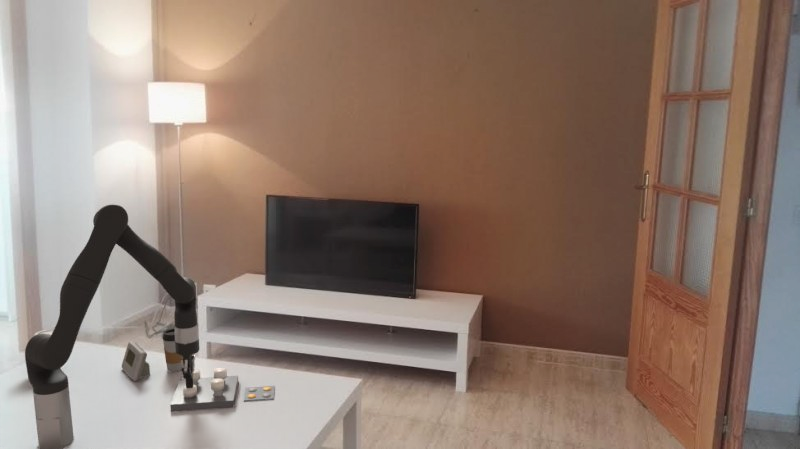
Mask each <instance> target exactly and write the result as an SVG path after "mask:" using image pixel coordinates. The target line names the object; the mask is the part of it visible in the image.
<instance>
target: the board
mask: <svg viewBox="0 0 800 449" xmlns="http://www.w3.org/2000/svg"><path fill="white" fill-rule="evenodd" d="M213 379H214V376H211V377H210V376H207V377H200V379H199V380H198V386H197V394H196V395H195V397H194V398H186V397H185V396H183V387H184V386H186V378H185V379H184V378H180V379H179V382H178V384H177V387H176V390H175V391H174V394H173V397H172V399H171V402H170V404H169V405H170V406H169V407H170V412H188V411H201V410H202V411H203V410H204V411H205V410H216V409H229V408H231V409H232V408H235V403H236V397H237V392H238V391H237V390H238V386H239V375H227V377H226V378H224V379H225V384H224V389H222V396H214V391H213V390H211V381H212V380H213Z"/></svg>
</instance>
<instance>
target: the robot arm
mask: <svg viewBox="0 0 800 449" xmlns="http://www.w3.org/2000/svg"><path fill="white" fill-rule="evenodd" d="M92 220H93V221H92V222H93V227H92V228H93V229H92V231H91V234H90V236H89V238H88V241H87V242H86V244H85V245H84V247H83V249H82V251H80V253H79V255H78V256H77V257H76V259H75V261H74V262H73V264H72V265H71V267H70V269H69V271H68V272H67V274H66V277H65V279H64V281H63V284H62V286H61V289H60V293H59V313H58V314H59V316H58V319H57V322H56V324H55V326H54V331H53V333H52V335H49V334H38V335H35V334H34V335H35V336H34V335H33V336H34V337H33V336H32V337H31V338H30V339H29V341H28V342H27V344H26V347H25V348H24V349H25V350H24V358H25V359H24V361H25V366H26V372H27V373H26V374H27V377H28V382H29V383H30V385H31V388H32V394H33V403H34V404H33V405H34V414H35V424H36V432H37V440H38V441H37V443H38V447H39V449H64V448H65V447H66V446H68V445H70V444H71V443H72V442H73V441H74V438H75V437H74V436H75V435H74V428H73V419H72V418H73V416H72V408H71V398H70V387H69V384H70V383H69V377H68V375H67V374H66V373H65V372H64V371H63V370H62V369H61V368H62V367H63V366H64V365H65V364H66V363H67V362H68V361H69V359H70V357H71V355H72V353H73V349H74V346H75V344H76V340H77V337H78V335H79V333H80V329H81V327H82V324H83V322H84V319H85V317H86V314H87V312H88V310H89V308H90V305H91V304H92V301H93V299H94V297H95V295H96V294H97V291H98V288H99V286H100V284H101V281H102V279H103V276H104V275H105V271H106V269H107V266H108V263H109V260H110V258H111V255H112V252H113V250H114V248H115V246H116V245H117V246H118V247H119V248H121V249H122V250H124V251H125V252H126V253H127V254H128V255H129V256H130V257H131V258H133V259H134V260H135V261H136V262H137V263H138V264H139V265H140V266H141V267H142V268H143V269H144V270H145V271H146V272H147V273H149V275H150V276H151V277H152V278H154V279H155V280H156V281H158V283H160V285H161V286H162V287H163V289H164V290H165V292H166V294H168V295H169V296H170V297H171V298H172V299H173V300H174V306H175V308H174V316H173V317H174V328H175V348H176V353H177V354H178V355H182V359H181V364H182V369H181V370H182V371H181V373H182V374H181V375H182V376H183V379H186V388H193V374H194V373H193V372H194V369H195V367H196V364H195V363H196V362H195V360H196V354H198V353H199V351H200V334H199V333H200V332H199V327H198V314H197V307H196V306H197V305H196V304H197V303H196V302H197V285H196V284H195V281H194V280H193V279H191V278H190V277H188V276H187V277H185V276H184V277H182V275H181V274H180V273H179V272H178V270H177V268H176V266H175V265H174V264H173V263H172V262H171V261H170V260H169V259H168V258H167V257H166V256H165V255H164V254H163V253H161V252H160V251H159V250H158V249H157V248H155V247H154V246H152V244H149V243H148V242H147V241H146V240H144V239H143V238H141V237H140V236H139V235H138V234H137V233H136V232H135V231H134V230H133V229H132V228H131V227H130V225H129V215H128V213H127V210H126V209H125V208H124V207H123V206H121V205H119V204H115V203H113V204H106V205H105V206H104V205H103V207H101V208H100V209H98V211H96V213H95V214H94V215H93V219H92Z"/></svg>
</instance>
